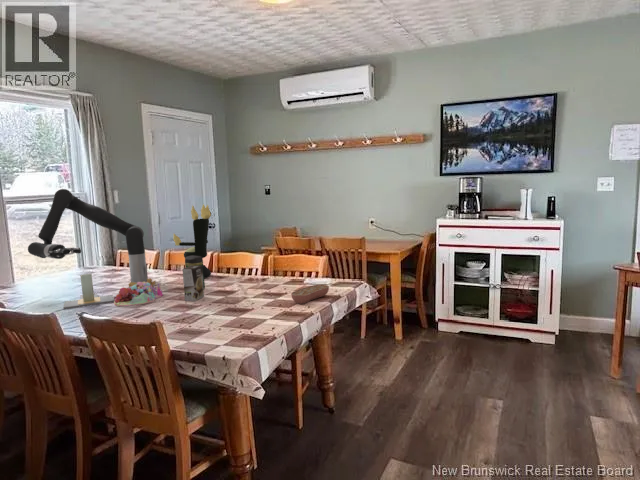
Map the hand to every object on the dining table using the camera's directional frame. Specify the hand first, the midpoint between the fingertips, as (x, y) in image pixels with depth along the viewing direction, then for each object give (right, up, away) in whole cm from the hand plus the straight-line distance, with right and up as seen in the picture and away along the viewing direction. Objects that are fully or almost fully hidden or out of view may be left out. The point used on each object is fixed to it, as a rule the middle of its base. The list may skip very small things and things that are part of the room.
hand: (71, 252), depth 228 cm
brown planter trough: (+121, -22, -13) cm, 124 cm away
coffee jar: (+58, -21, +17) cm, 64 cm away
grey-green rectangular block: (+10, -24, -3) cm, 26 cm away
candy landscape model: (+33, -24, +2) cm, 41 cm away
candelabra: (+52, -17, +49) cm, 73 cm away
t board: (+8, -25, +2) cm, 26 cm away
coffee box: (+63, -23, -3) cm, 67 cm away
